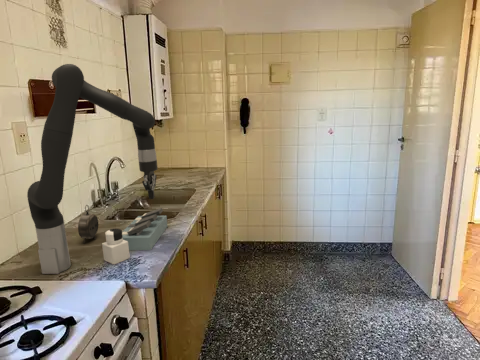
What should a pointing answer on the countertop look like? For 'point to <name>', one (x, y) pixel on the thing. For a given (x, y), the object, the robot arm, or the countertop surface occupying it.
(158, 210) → the switch
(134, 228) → the switch
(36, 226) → the robot arm
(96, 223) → the alarm clock
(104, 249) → the medicine bottle
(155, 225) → the switch box
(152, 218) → the switch
